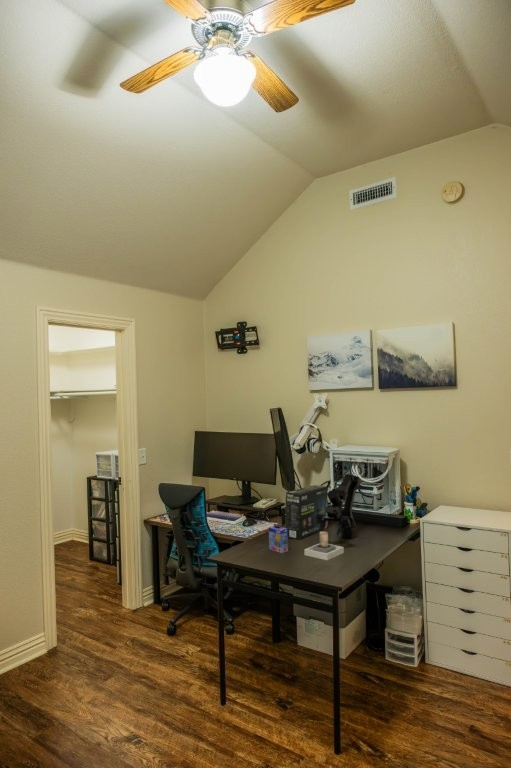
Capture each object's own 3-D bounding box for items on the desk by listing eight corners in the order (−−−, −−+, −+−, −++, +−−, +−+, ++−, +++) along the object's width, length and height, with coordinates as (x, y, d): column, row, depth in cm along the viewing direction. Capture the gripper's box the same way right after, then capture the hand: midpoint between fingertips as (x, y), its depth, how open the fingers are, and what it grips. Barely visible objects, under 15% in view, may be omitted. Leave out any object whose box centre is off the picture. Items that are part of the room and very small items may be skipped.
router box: (300, 540, 279) (299, 494, 280) (284, 537, 285) (283, 492, 287) (329, 527, 308) (328, 485, 309) (314, 525, 314) (313, 484, 316)
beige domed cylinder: (318, 551, 253) (318, 532, 254) (325, 550, 255) (325, 531, 256) (322, 553, 249) (322, 534, 250) (330, 552, 251) (329, 533, 252)
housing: (304, 555, 251) (304, 547, 251) (321, 548, 263) (321, 540, 263) (327, 560, 241) (327, 552, 242) (343, 552, 253) (343, 545, 254)
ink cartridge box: (268, 549, 261) (267, 522, 262) (275, 547, 265) (274, 521, 266) (281, 553, 254) (281, 525, 255) (288, 551, 258) (288, 523, 259)
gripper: (316, 499, 269) (308, 523, 259) (348, 502, 260) (341, 527, 249) (322, 510, 275) (314, 534, 265) (353, 513, 266) (347, 538, 256)
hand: (329, 533), depth 259 cm, fingers open, 9 cm apart
